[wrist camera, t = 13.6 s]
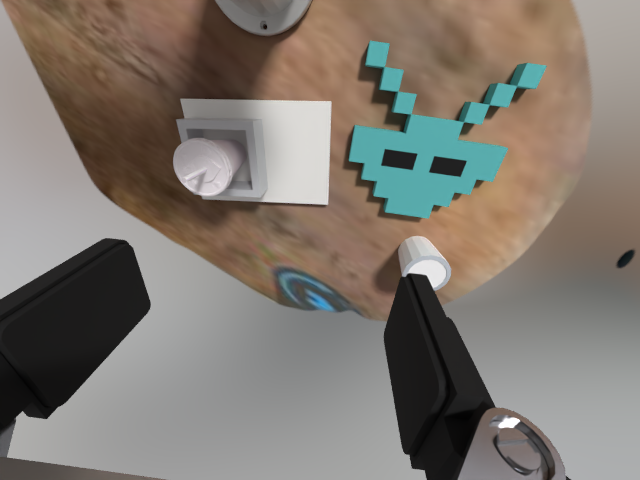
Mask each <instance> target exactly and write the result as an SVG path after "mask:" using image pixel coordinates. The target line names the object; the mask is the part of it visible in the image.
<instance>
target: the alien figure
mask: <svg viewBox="0 0 640 480" xmlns="http://www.w3.org/2000/svg"><path fill="white" fill-rule="evenodd" d="M389 45H390V44H389V43H382V42H375V41H370V42H369V45H368V51H367V56H366V62H365V66H367V67H374V68H381V69H383V70H382V75H381V79H380V84H379V89H378V90H385V91H392V92H396V93H395V97H394V102H393V106H392V110H391V112H396V113H403V114H408V116H407V120H406V123H405V127H404V131H403V132H400V131H393V130H386V129H379V128H372V127H365V126H358V125H354V131H353V136H352V142H351V148H350V154H349V161H352V162H359V163H363V168H362V172H361V179H364V180H371V181H375V183H374V187H373V191H372V193H373V196H376V197H383V198H386V199H385V203H384V206H383V209H384V211H385V212H387V213H394V214H401V215H408V216H415V217H422V218H429V216H430V213H431V211H432V208H433V205H439V206H446V207H449V205H450V202H451V200H452V197H453V195H454V192H455V193H462V194H469V195H470V194H471V191H472V189H473V187H474V184H475V182H476V180H484V181H491V182H493V180H494V178H495V176H496V173H497V171H498V169H499V167H500V165H501V163H502V161H503V158H504V156H505V154H506V152H507V150H508V148H506V147H503V146H498V145H491V144H484V143H477V142H470V141H463V140H458V137H459V134H460V132H461V129H462V126H463V124H464V122H467V123H474V124H481V125H482V123H483V120H484V118H485V115H486V113H487V110H488V108H489V105H491V106H498V107H508V106H509V104H510V101H511V99H512V97H513V94H514V92H515V90H516V88H522V89H536V88H537V86H538V84H539V82H540V79H541V77H542V75H543V73H544V71H545V69H546V67H547V66H545V65H538V64H531V63H524V64H519V65H517V68H516V70H515V73H514V75H513V77H512V80H511V82H510V84H509V85H507V84H500V83H496V84H490V87H489V89H488V92H487V95H486V97H485V100H484V102H483V104H481V103H474V102H465V104H464V107H463V110H462V112H461V115H460V118H459V121H455V120H448V119H441V118H434V117H427V116H420V115H413V114H412V110H413V106H414V102H415V99H416V95H417V94H411V93H404V92H399V87H400V83H401V79H402V75H403V71H404V70H401V69H394V68H387V67H385V64H386V59H387V54H388V50H389Z"/></svg>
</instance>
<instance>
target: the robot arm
mask: <svg viewBox="0 0 640 480" xmlns="http://www.w3.org/2000/svg"><path fill="white" fill-rule="evenodd" d="M215 1H216V3H217V4H218V6H219V7H220V8H221V10H222V11H223V13H224V14H225V15H226V16H227V17H228V18H229V19H230V20H231V21H232V22H233V23H235V24H236V25H237V26H239V27H240V28H242V29H244V30H246V31H247V32H249V33H253V34H256V35H260V36H272V35H278V34H280V33H283V32H285V31H287V30H289V29H290V28H291V27H293V26H294V25H295V24H297V22H298V21H299V20H300V19H301V18H302V17H303V16H304V14H305V13H306V11H307V9H308V7H309V6H310V4H311V2H312V0H215ZM264 25H267V29H266V30H264ZM150 305H151V304H150V300H149V296H148V293H147V290H146V287H145V284H144V281H143V278H142V275H141V272H140V268H139V265H138V262H137V259H136V256H135V253H134V250H133V248H132V247H131V246H130V245H129V243H128V242H127V241H125V240H118V239H110V238H105V239H103V240H101V241H99V242H97V243H96V244H94V245H92V246H91V247H89V248H87V249H85V250H84V251H82V252H80V253H79V254H77V255H75V256H73V257H72V258H70V259H68V260H67V261H65V262H63V263H62V264H60V265H58V266H56V267H55V268H53V269H51V270H50V271H48V272H46V273H45V274H43V275H41V276H39V277H38V278H36V279H34V280H33V281H31V282H30V283H28V284H26V285H24V286H22V287H21V288H19V289H17V290H16V291H14V292H12V293H10V294H9V295H7V296H6V297H4V298H2V299H0V480H165V479H158V478H151V477H144V476H137V475H129V474H122V473H115V472H108V471H101V470H94V469H86V468H79V467H72V466H65V465H57V464H51V463H43V462H35V461H28V460H21V459H13V458H7V454H8V450H9V446H10V442H11V438H12V434H13V430H14V426H15V422H16V416H18V415H19V414H20V413H21V412H22V411H23V412H24V413H25V414H26V415H27V416H28V417H36V418H43V419H47V418H48V417H49V416H50V415H51V414H52V413H53V412H54V411H55V410H56V408H57V407H59V406H61V405H63V404H64V403H66V402H67V401H68V399H69V398H70V397H71V396H72V395H73V394H74V393H75V392H76V391H77V390H78V389H79V388H80V386H81V385H82V384H83V383H84V382H85V381H86V380H87V379H88V378H89V377H90V375H91V374H92V373H93V372H94V371H95V370H96V369H97V368H98V367H99V366H100V364H101V363H102V362H103V361H104V360H105V359H106V358H107V357H108V356H109V355H110V353H111V352H112V351H113V350H114V349H115V348H116V347H117V346H118V345H119V344H120V342H121V341H122V340H123V339H124V338H125V337H126V336H127V335H128V334H129V332H131V330H132V329H133V328H134V327H135V326H136V325H137V324H138V322H140V321H141V319H142V318H143V317H144V316H145V315H146V314H147V313H148V311H149V309H150ZM384 343H385V350H386V356H387V362H388V368H389V373H390V379H391V385H392V391H393V397H394V403H395V409H396V415H397V420H398V427H399V432H400V438H401V444H402V448H403V452H404V453H405V454H408V455H410V460H411V466H412V468H413V469H420V470H425V473H426V478H427V480H571V479H569V478H568V477H567V476H566V475H565V467H564V465H563V462H562V460H561V458H560V455H559V453H558V452H557V450H556V449H555V447H554V446H553V445H552V443H551V441H550V440H549V439H548V438H547V437H546V436H545V435H544V433H543V432H542V431H541V430H540V429H539V428H537V426H535V425H534V424H533V423H532V422H530V421H529V420H528V419H527V418H525V417H523V416H521V415H520V414H518V413H516V412H514V411H511V410H508V409H505V408H496V407H495V405H494V403H493V401H492V399H491V397H490V395H489V393H488V391H487V389H486V387H485V385H484V383H483V381H482V379H481V377H480V375H479V373H478V371H477V368H476V366H475V365H474V362H473V360H472V358H471V357H470V354H469V352H468V350H467V348H466V346H465V344H464V342H463V340H462V338H461V336H460V334H459V332H458V330H457V328H456V326H455V324H454V323H453V321H452V320H451V319H450V318H449V317H446V315H445V312H444V310H443V308H442V306H441V304H440V302H439V300H438V298H437V296H436V294H435V291H434V289H433V287H432V285H431V283H430V281H429V279H428V277H427V275H423V274H414V273H408V274H407V275H406V277H403V276H402V277H401V278H400V281H399V285H398V288H397V291H396V295H395V298H394V301H393V305H392V308H391V311H390V315H389V318H388V321H387V324H386V328H385V331H384Z"/></svg>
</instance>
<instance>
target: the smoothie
mask: <svg viewBox="0 0 640 480" xmlns="http://www.w3.org/2000/svg"><path fill="white" fill-rule="evenodd" d="M245 160H246V151H245V148H244V147H243V145H242V144H241V143H240V142H238V141H236V140H232V139H231V140H207V139H204V138H193V139H189V140H187V141H185V142H183V143H181V144H180V145H179V146H178V147H177V149H176V150H175V153H174V156H173V166H174V170H175V173H176V175H177V177H178V179H179V180H180V182H181V183H182V184H183V185H184V186H185V187H186V188H187V189H189V190H190V191H191V192H193V193H195V194H198V195H201V196H207V197H208V196H215V195H217V194H219V193H221V192H223V191H224V190H225V189H226V188H227V187H228V186H229V184H230V182H231V180H232V177H233V176H234V174H235V173H236V172H237V170H238V169H239V168H240V167H241V165H242V164H243V163H244V162H245Z"/></svg>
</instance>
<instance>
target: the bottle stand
mask: <svg viewBox="0 0 640 480" xmlns="http://www.w3.org/2000/svg"><path fill="white" fill-rule="evenodd" d="M180 100H181V105H182V109H183V114H184V119H176V121H177V126H178V130H179V134H180V138H181V143H183V142H185V141H187V140H189V139H193V138H204V139H207V140H231V139H232V140H236V141H238V142H240V143H241V144H242V145H243V147H244V148H245V151H246V160H245V162H244V163H243V164H242V165H241V167H240V168H239V169H238V170H237V172H236V173H235V174H234V176H233V177H232V180H231V182H230V184H229V186H228V187H227V188H226V189H225V190H224V191H223V192H221V193H219V194H217V195H215V196H208V197H207V196H202V199H208V200H231V201H254V202H278V203H301V204H324V205H328V194H329V164H330V133H331V103H332V101H282V100H229V99H180ZM193 194H194V195H198V194H195V193H193Z"/></svg>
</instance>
